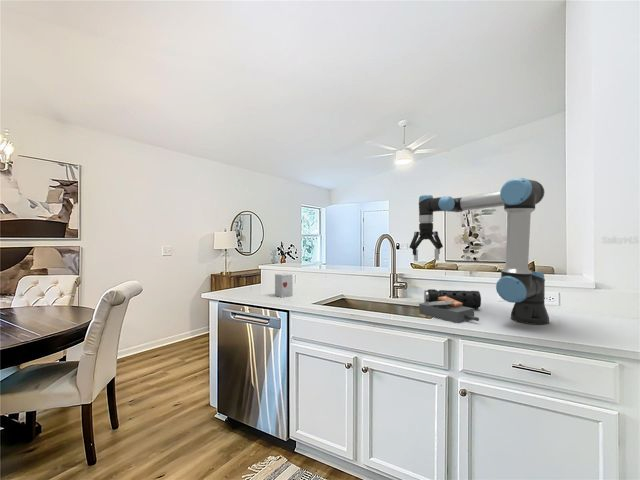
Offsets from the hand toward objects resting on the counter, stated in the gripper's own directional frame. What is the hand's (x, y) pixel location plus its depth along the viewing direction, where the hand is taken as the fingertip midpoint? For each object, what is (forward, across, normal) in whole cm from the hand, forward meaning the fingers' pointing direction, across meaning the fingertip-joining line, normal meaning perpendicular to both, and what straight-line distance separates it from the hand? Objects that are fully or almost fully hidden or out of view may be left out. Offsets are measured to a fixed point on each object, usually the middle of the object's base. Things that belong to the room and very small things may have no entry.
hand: (426, 260), depth 182 cm
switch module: (+26, +3, +24) cm, 36 cm away
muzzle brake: (+26, -10, +8) cm, 29 cm away
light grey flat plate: (+19, +7, +22) cm, 30 cm away
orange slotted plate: (+19, 0, +20) cm, 28 cm away
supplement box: (+26, +70, -61) cm, 97 cm away
